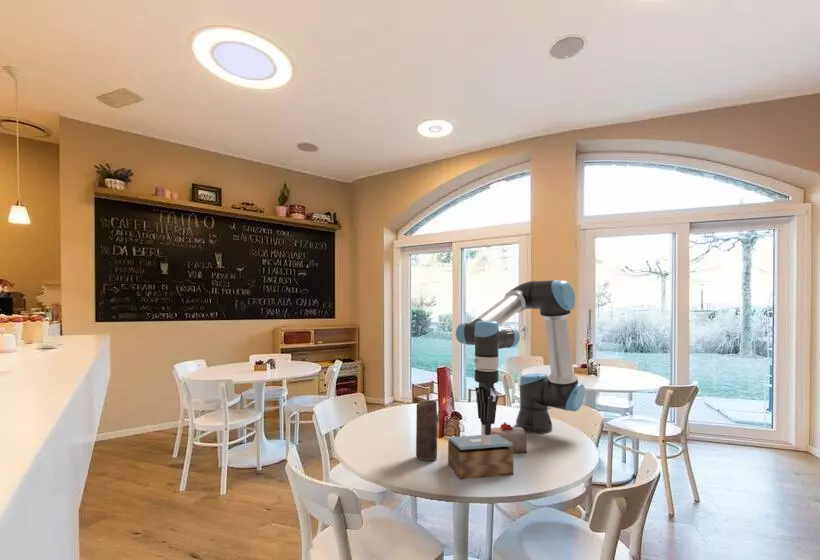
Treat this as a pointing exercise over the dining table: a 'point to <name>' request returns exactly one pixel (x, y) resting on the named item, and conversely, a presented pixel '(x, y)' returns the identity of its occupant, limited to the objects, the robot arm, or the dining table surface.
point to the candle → (426, 430)
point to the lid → (479, 442)
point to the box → (480, 461)
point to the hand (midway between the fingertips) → (486, 444)
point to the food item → (513, 437)
